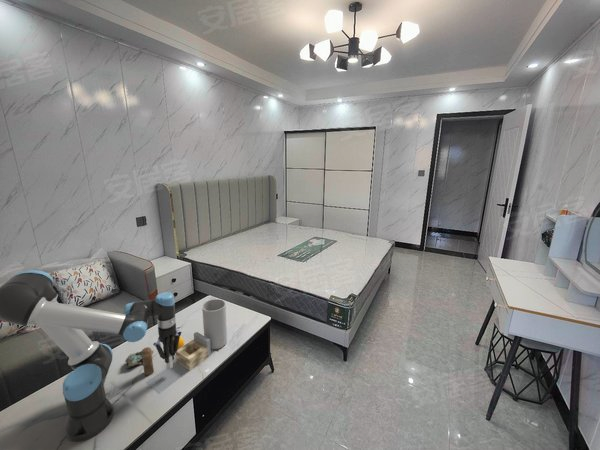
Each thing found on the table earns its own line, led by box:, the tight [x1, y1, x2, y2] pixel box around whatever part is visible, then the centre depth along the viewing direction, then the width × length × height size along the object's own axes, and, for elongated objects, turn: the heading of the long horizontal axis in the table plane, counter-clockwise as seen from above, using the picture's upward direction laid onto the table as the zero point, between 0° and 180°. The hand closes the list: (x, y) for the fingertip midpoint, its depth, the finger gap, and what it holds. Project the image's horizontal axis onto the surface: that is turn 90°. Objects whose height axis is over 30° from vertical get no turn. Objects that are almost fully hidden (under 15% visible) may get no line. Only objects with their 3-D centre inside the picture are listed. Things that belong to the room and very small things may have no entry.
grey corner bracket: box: [145, 331, 212, 394], centre depth 132 cm, size 29×11×11 cm, turn 148°
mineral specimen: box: [124, 349, 154, 370], centre depth 137 cm, size 12×9×8 cm
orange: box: [168, 336, 185, 349], centre depth 146 cm, size 8×8×8 cm
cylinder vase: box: [201, 298, 228, 351], centre depth 150 cm, size 12×12×25 cm
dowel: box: [140, 346, 155, 377], centre depth 128 cm, size 4×4×14 cm
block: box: [175, 338, 209, 371], centre depth 138 cm, size 11×11×6 cm
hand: (169, 366), depth 128 cm, fingers closed
